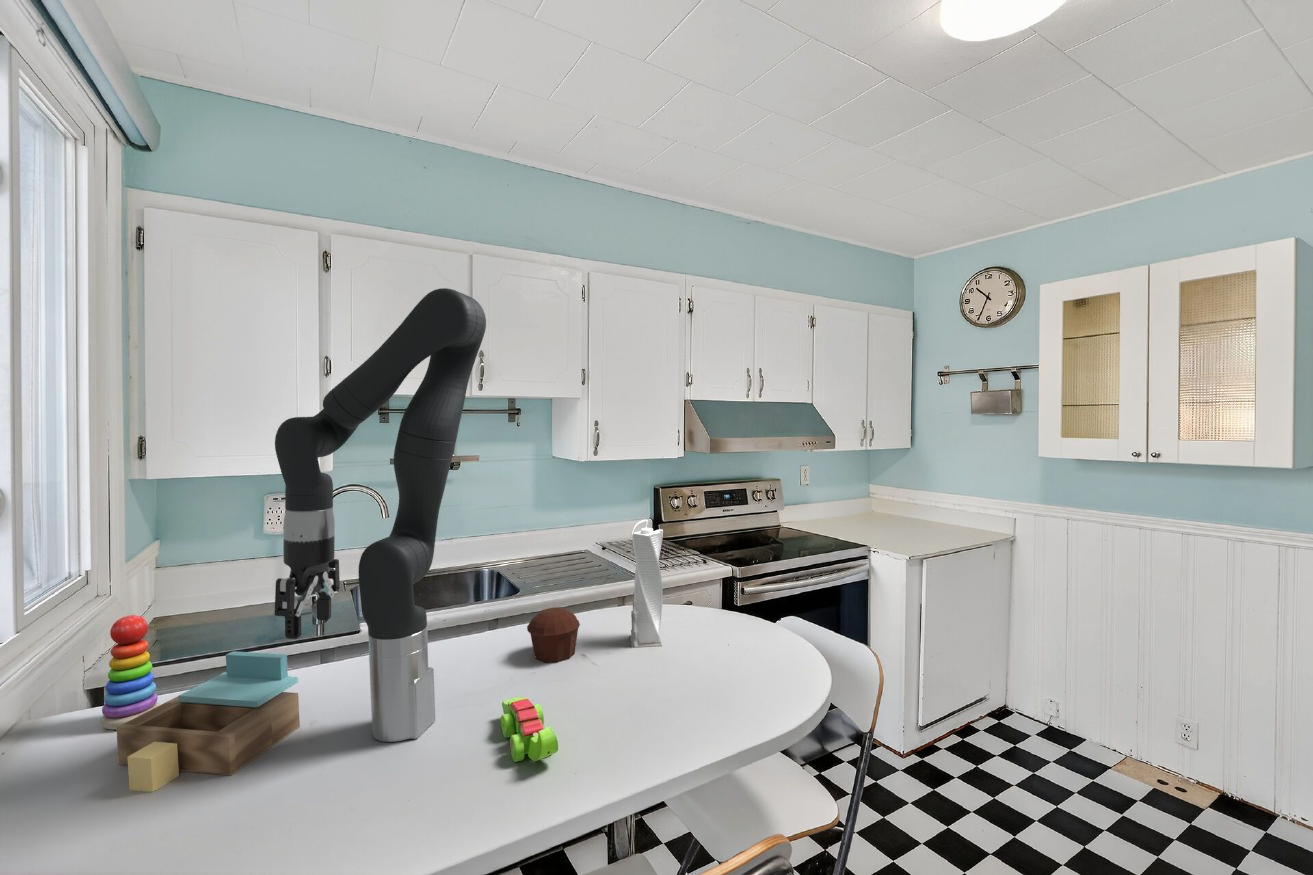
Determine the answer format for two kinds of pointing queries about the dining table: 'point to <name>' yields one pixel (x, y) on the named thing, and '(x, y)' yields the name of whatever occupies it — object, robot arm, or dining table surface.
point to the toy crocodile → (527, 730)
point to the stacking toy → (128, 674)
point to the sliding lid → (244, 681)
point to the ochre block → (153, 766)
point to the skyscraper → (647, 588)
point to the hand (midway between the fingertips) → (309, 628)
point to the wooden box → (211, 732)
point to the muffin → (554, 635)
